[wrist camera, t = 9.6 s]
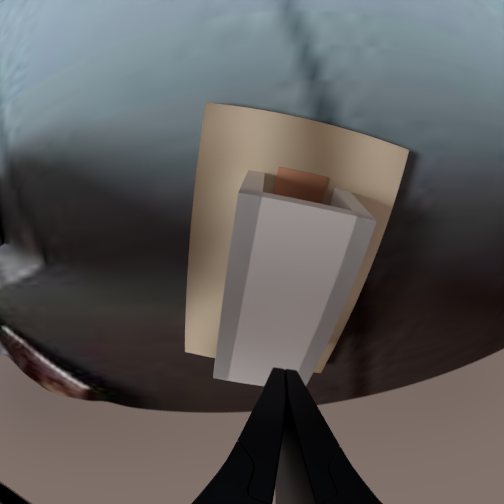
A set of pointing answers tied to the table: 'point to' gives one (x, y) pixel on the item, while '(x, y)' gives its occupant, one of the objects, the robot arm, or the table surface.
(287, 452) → the robot arm
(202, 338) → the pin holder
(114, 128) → the table surface
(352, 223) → the plug housing
